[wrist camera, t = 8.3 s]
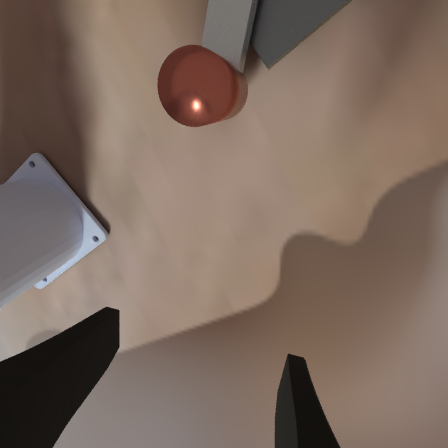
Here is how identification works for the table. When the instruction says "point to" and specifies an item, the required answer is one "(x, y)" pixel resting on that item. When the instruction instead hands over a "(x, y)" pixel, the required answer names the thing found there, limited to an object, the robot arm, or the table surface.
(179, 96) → the lever
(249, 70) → the table surface
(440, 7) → the table surface
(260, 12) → the base
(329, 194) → the table surface
